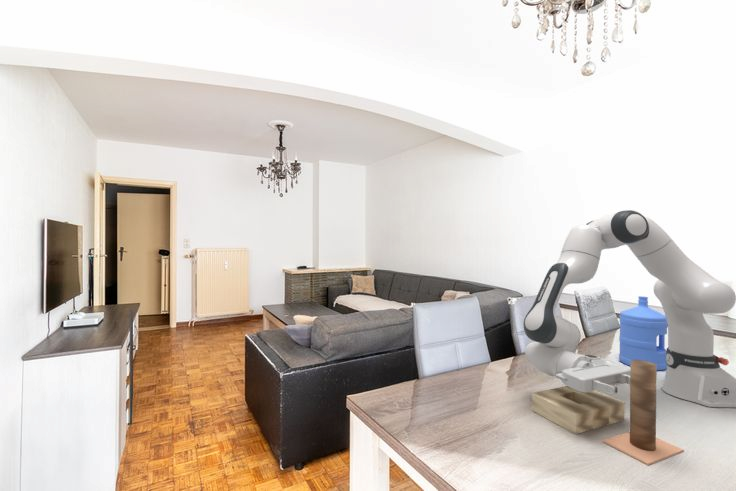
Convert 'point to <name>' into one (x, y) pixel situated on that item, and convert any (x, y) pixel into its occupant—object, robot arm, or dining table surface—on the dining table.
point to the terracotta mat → (641, 455)
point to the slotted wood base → (578, 408)
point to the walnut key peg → (643, 404)
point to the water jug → (643, 335)
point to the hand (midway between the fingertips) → (627, 387)
